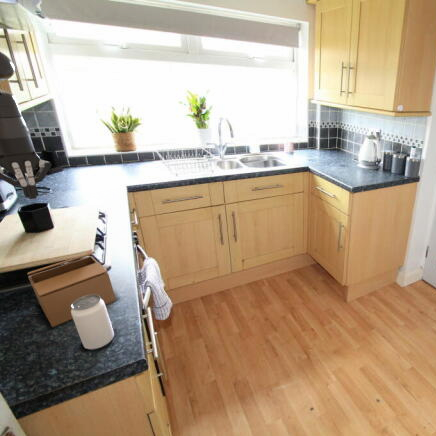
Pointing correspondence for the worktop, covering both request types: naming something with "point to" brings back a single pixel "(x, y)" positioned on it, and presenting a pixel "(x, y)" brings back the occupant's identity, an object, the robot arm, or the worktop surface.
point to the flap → (60, 263)
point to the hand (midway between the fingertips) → (32, 198)
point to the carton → (70, 287)
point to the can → (92, 321)
